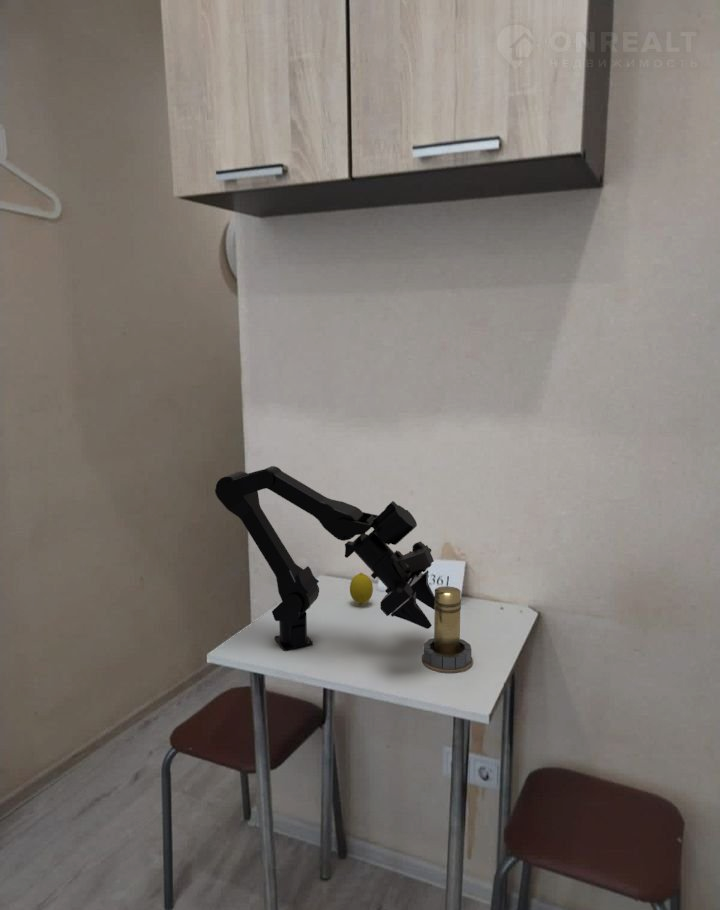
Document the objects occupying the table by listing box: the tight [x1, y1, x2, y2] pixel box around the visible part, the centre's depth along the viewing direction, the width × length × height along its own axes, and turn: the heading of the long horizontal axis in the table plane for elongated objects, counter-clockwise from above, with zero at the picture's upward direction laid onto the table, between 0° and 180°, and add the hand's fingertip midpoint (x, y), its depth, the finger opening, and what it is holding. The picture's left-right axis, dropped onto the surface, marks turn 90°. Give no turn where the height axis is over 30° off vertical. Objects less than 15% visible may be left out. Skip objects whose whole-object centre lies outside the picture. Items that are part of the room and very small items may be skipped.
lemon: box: [349, 572, 374, 606], centre depth 161 cm, size 6×6×8 cm
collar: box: [423, 637, 472, 670], centre depth 132 cm, size 9×9×2 cm
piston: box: [433, 586, 462, 655], centre depth 131 cm, size 5×5×14 cm
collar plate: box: [421, 653, 474, 674], centre depth 132 cm, size 10×10×1 cm
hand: (434, 617), depth 131 cm, fingers open, 9 cm apart
